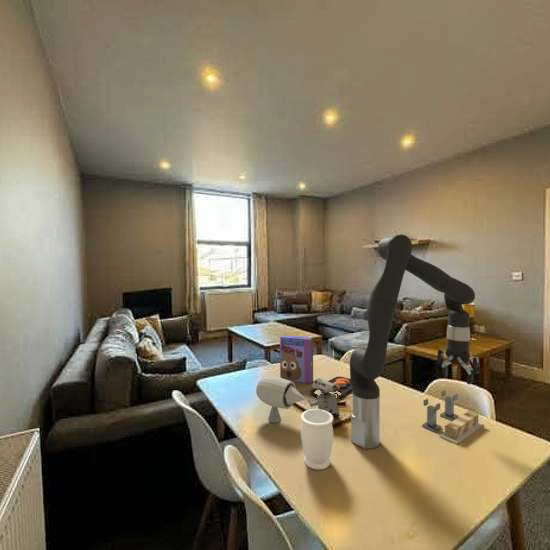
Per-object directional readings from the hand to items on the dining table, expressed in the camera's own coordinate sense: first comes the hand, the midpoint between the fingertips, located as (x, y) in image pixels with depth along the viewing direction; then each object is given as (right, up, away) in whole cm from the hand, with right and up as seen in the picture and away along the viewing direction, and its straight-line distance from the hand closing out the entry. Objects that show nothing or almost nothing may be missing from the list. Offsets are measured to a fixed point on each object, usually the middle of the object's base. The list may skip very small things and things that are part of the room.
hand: (457, 380), depth 117 cm
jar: (-55, -21, -17) cm, 62 cm away
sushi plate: (-32, -19, +35) cm, 51 cm away
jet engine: (-67, -20, +9) cm, 71 cm away
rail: (+2, -19, 0) cm, 19 cm away
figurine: (-48, -20, +12) cm, 53 cm away
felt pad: (+2, -19, 0) cm, 19 cm away
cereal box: (-57, -18, +53) cm, 80 cm away
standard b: (+3, -19, +11) cm, 22 cm away
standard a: (-8, -19, +3) cm, 21 cm away
